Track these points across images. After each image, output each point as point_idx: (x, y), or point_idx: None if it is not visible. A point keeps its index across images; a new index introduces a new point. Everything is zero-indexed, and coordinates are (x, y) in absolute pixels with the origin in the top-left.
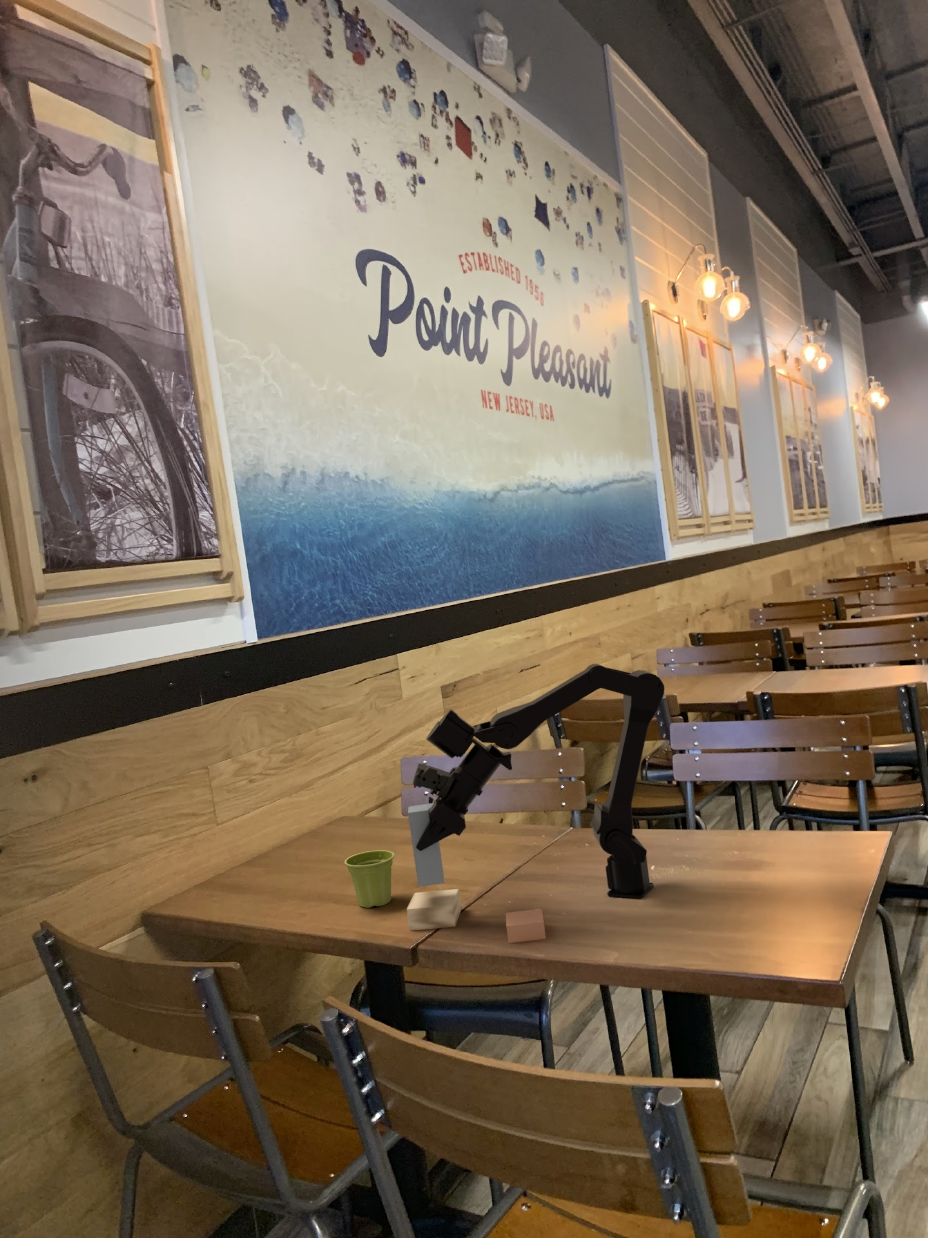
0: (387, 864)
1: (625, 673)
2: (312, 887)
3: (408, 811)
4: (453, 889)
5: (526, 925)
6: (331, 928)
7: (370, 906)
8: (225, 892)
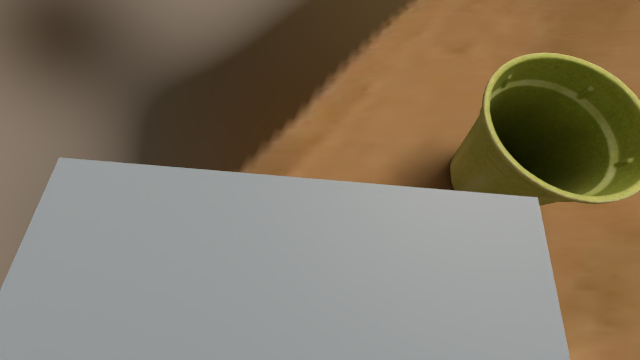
0: (524, 180)
1: None
2: (620, 59)
3: (162, 171)
4: None
5: None
6: (360, 95)
7: (450, 165)
8: None
